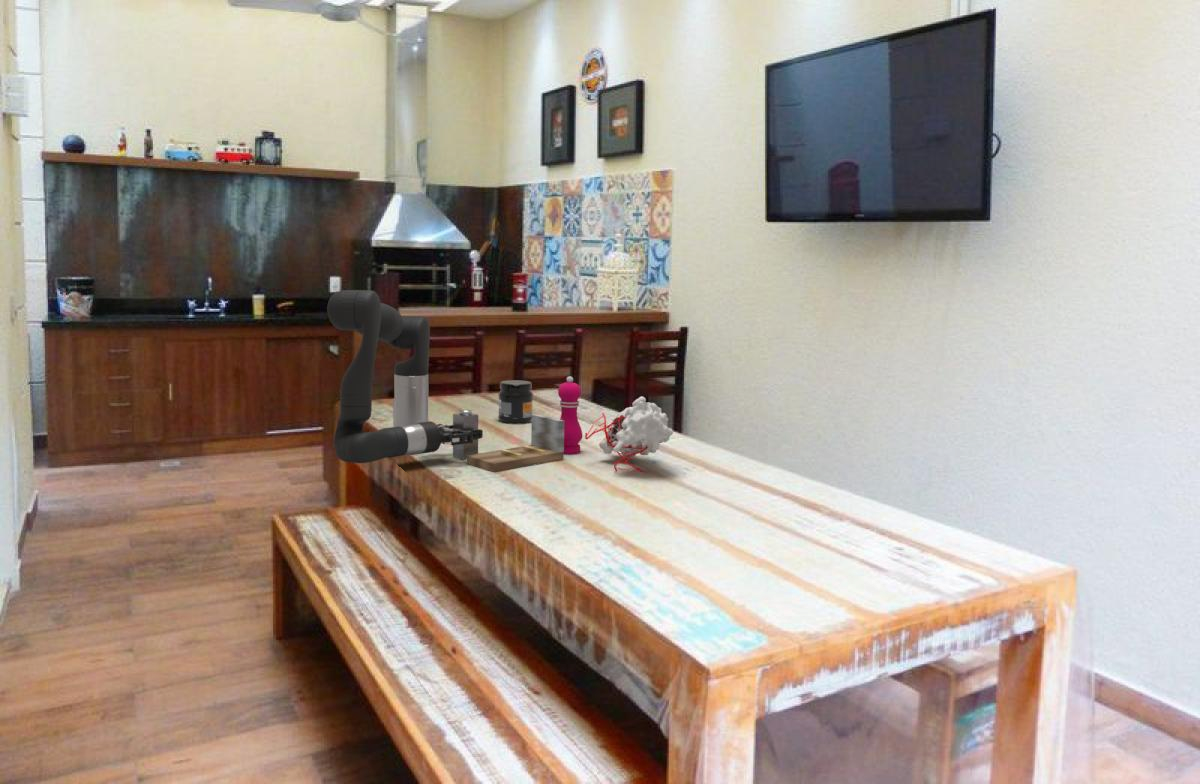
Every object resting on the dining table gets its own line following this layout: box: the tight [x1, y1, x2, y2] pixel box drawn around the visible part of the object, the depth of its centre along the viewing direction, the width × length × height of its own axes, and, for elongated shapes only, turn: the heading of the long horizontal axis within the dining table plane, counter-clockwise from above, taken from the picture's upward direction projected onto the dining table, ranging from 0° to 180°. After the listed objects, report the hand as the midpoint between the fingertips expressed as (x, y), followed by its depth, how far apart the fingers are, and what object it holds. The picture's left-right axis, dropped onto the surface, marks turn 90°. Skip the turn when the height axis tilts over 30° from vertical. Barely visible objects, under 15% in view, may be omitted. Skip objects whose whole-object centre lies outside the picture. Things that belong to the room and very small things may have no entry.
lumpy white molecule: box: [584, 396, 674, 473], centre depth 229 cm, size 20×18×25 cm
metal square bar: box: [452, 408, 479, 461], centre depth 235 cm, size 4×4×12 cm
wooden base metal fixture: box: [466, 413, 565, 473], centre depth 232 cm, size 11×22×10 cm, turn 134°
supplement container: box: [497, 379, 534, 424], centre depth 286 cm, size 10×10×12 cm
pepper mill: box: [557, 376, 583, 455], centre depth 244 cm, size 7×7×20 cm
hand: (471, 430), depth 237 cm, fingers open, 8 cm apart
